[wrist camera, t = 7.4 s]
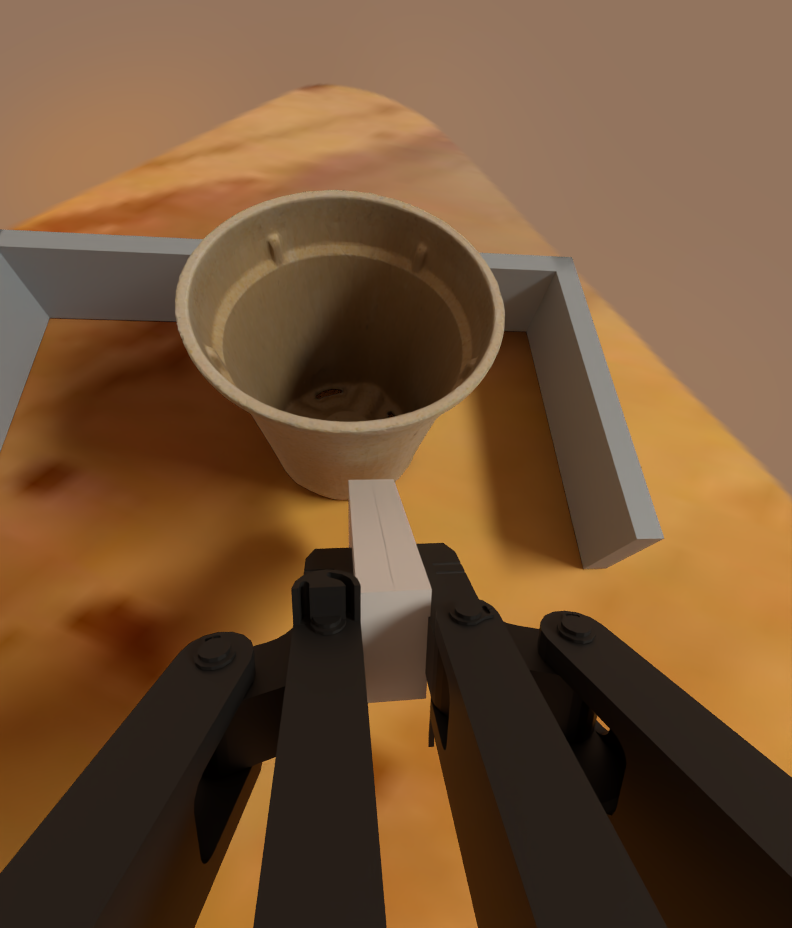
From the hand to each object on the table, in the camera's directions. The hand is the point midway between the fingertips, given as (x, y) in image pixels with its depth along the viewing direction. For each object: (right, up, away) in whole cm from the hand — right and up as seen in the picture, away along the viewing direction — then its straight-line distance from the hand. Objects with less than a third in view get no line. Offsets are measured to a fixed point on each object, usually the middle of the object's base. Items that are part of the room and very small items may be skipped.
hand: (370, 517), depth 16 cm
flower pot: (-2, +3, +6) cm, 7 cm away
